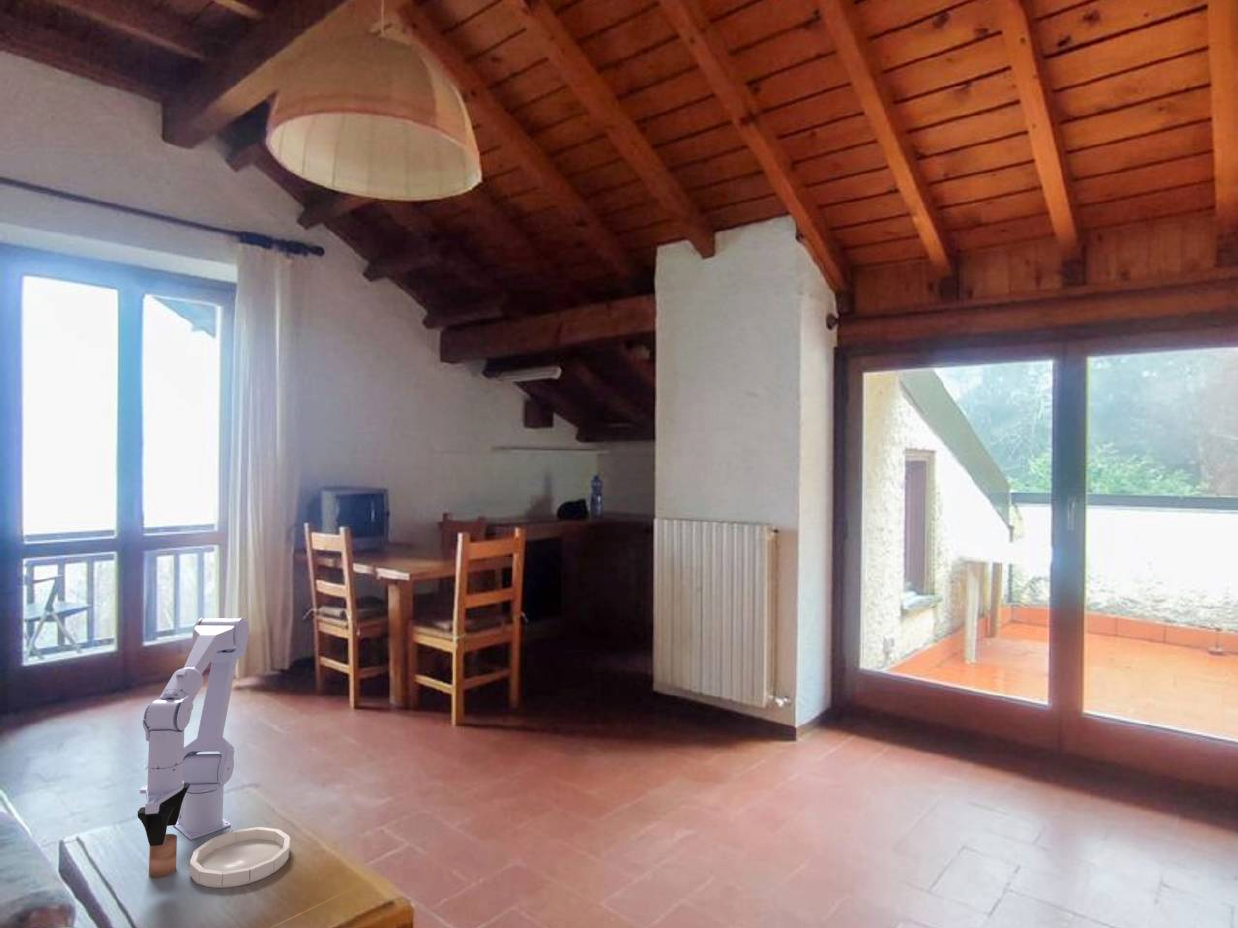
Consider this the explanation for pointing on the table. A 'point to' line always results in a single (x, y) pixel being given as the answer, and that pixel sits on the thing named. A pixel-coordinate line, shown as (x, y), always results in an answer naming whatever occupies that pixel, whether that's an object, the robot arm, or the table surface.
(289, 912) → the table surface
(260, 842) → the round tray
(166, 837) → the brown rounded cylinder
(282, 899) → the table surface
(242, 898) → the table surface
